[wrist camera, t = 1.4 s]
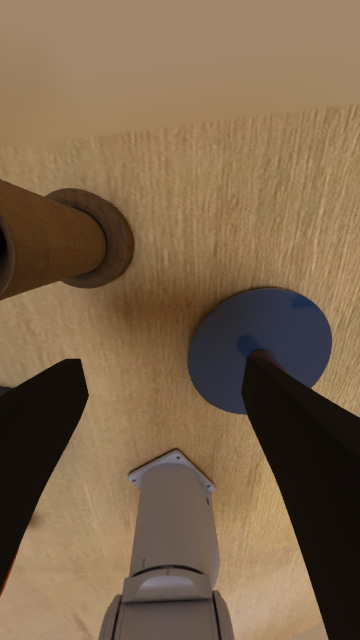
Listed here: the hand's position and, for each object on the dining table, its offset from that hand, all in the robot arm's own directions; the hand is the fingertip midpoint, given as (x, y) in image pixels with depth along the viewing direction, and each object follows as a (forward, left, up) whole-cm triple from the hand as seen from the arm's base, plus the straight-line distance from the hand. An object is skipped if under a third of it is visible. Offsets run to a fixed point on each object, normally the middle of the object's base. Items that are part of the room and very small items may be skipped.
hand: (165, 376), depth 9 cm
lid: (-9, -4, -9) cm, 13 cm away
